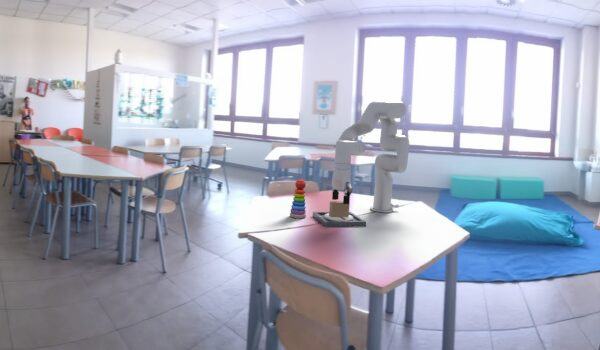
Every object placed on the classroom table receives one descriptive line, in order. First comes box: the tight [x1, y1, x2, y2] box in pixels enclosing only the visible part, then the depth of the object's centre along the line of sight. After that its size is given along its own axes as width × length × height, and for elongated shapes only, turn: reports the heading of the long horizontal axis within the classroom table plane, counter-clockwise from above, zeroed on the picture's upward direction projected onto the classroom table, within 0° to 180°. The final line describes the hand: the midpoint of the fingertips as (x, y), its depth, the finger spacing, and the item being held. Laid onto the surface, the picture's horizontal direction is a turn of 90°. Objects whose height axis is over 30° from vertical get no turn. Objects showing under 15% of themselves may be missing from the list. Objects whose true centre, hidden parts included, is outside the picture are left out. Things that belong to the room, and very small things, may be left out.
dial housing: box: [312, 211, 367, 228], centre depth 191 cm, size 20×20×2 cm
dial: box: [324, 200, 353, 221], centre depth 190 cm, size 14×14×8 cm
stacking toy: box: [289, 178, 307, 219], centre depth 193 cm, size 8×8×19 cm
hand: (340, 201), depth 190 cm, fingers open, 9 cm apart
